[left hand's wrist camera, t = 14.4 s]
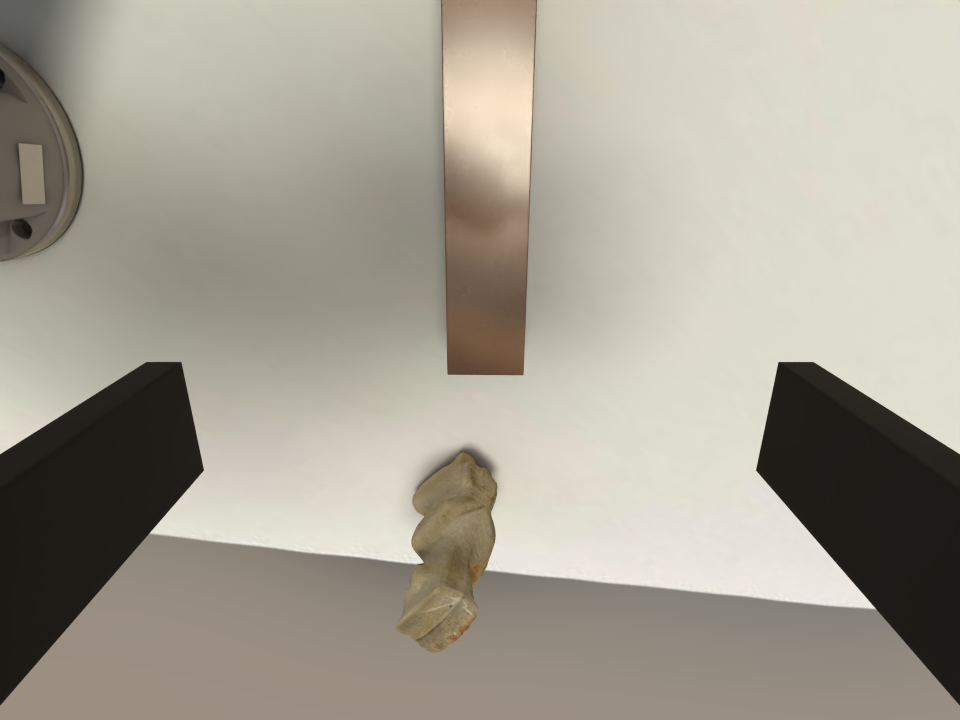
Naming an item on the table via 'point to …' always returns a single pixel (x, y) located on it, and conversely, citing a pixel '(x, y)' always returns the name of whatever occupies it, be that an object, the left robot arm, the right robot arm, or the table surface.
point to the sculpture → (449, 553)
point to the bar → (487, 180)
